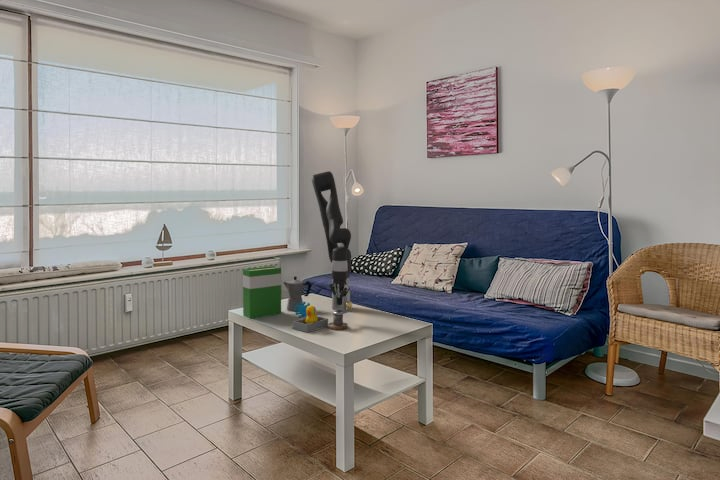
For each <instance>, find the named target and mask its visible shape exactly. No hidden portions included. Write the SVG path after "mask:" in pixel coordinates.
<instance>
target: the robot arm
mask: <svg viewBox="0 0 720 480" xmlns="http://www.w3.org/2000/svg"><path fill="white" fill-rule="evenodd" d="M311 182H312V187H313V190H314V194H315V197H316V200H317V205H318V208H319V213H320V217H321V222H322V227H323V230H324V234H325V235H324V236H325V238H326V239H325V240H326V244H327V252H328V253H327V254H328V258H329V260H330V262H331V279H332V281H331V283H330V284H329V288H330V290H331V302H332V303H331V308H332V310H335V311H341V310H344V309H346V302H351V290H350V274H351V271H352V270H351V266H352V265H351V264H352V252H351V250H350V249H349V246H350V243H351V239H352V234H351V230H350V229H349V228H347V227H345V228H341V226H342V225H343V223H344V218H343V215H342V212H341V208H340V203H339V198H338V191H337V187H336V181H335V177H334V175H333V173H332V172H331V171H330V170H329V171H324V172H319V173H316V174H313V175H312V176H311ZM326 191H330V194H329V198H328V201H327V199H326V198H325V197H324V196H323V194H322V192H326ZM338 244H340V245H338Z"/></svg>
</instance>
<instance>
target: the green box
mask: <svg viewBox="0 0 720 480" xmlns="http://www.w3.org/2000/svg"><path fill="white" fill-rule="evenodd" d="M242 309H243V312H242V314H243V317H245V318H248V319H250V320H251V319H257V318H263V317H269V316H274V315H280V314H282V267H275V265H271V266H261V267H252V268H251V267H250V268H243V269H242Z"/></svg>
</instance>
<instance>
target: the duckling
mask: <svg viewBox="0 0 720 480" xmlns="http://www.w3.org/2000/svg"><path fill="white" fill-rule="evenodd" d="M306 314H307V315H306V324H310V323H314V322H317V316H318V313H317V308H316V307H315V306H314V305H313V304H310V305H309V306H308V307H307V308H306Z"/></svg>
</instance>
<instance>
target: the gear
mask: <svg viewBox="0 0 720 480" xmlns="http://www.w3.org/2000/svg"><path fill="white" fill-rule="evenodd" d="M306 303H307V304H306ZM299 305H300V307H298V305H296V306H295V307H297V308H298V309H299V310H297V308H295V310H294V311H297V312H295V315H296V316H298V318H299V319H303V318H307V314H306V308H307V307H308V306H310V305H311V304H310V302H306V301H303V305H301V302H299Z"/></svg>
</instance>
